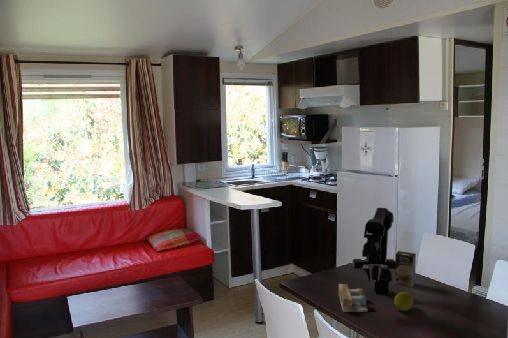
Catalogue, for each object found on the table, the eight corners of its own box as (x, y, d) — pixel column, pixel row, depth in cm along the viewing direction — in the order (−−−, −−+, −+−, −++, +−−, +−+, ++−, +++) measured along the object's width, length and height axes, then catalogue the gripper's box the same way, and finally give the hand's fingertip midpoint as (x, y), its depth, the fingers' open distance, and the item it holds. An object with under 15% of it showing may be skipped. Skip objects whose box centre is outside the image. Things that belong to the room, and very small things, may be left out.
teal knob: (364, 302, 207) (364, 292, 206) (366, 306, 202) (366, 296, 202) (343, 302, 207) (343, 292, 207) (344, 306, 203) (344, 296, 203)
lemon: (404, 316, 195) (405, 298, 194) (389, 310, 201) (389, 293, 200) (418, 309, 202) (418, 292, 201) (403, 303, 208) (403, 287, 207)
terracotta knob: (361, 295, 215) (361, 286, 214) (363, 299, 210) (363, 289, 210) (341, 295, 215) (341, 286, 215) (342, 298, 211) (342, 289, 210)
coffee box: (394, 284, 231) (394, 253, 229) (397, 280, 236) (398, 250, 234) (412, 287, 226) (413, 256, 224) (415, 283, 231) (416, 253, 229)
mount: (361, 295, 217) (361, 284, 217) (367, 311, 200) (367, 299, 199) (338, 295, 218) (338, 283, 218) (342, 311, 201) (342, 299, 200)
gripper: (391, 243, 208) (391, 275, 210) (350, 243, 210) (350, 275, 212) (397, 250, 197) (396, 284, 199) (354, 250, 199) (354, 284, 201)
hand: (374, 282), depth 203 cm, fingers open, 4 cm apart
